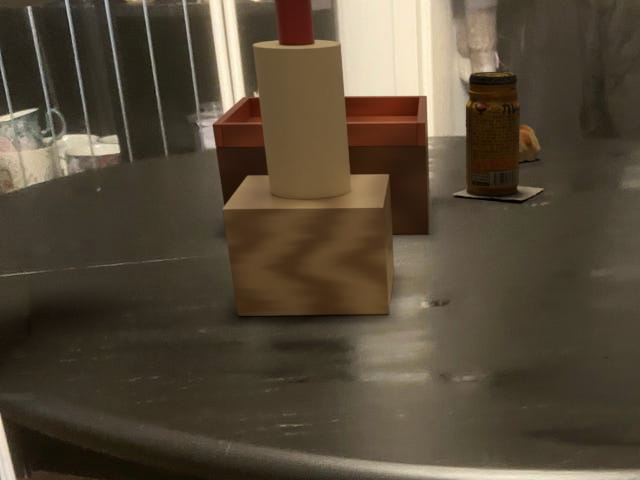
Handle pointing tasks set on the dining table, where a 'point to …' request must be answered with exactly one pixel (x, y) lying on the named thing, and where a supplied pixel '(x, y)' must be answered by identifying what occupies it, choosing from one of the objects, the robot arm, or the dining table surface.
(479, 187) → the condiment
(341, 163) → the sauce bottle
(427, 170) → the tray stand
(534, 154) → the pastry
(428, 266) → the dining table surface
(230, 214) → the birch block
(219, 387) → the dining table surface
